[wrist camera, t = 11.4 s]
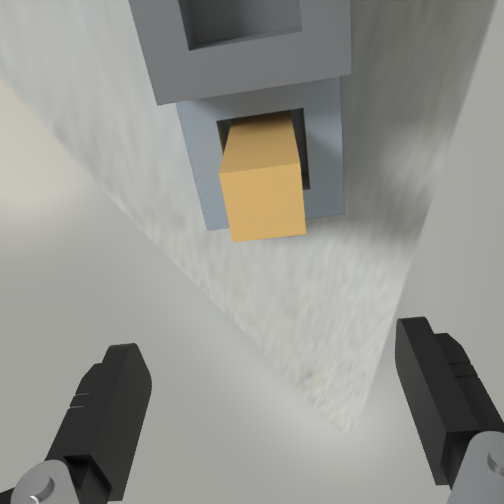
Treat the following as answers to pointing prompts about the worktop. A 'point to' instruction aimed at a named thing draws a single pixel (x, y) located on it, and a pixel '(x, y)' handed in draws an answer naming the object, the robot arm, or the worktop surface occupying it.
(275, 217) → the plug
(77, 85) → the worktop surface
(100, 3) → the worktop surface
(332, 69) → the socket block
